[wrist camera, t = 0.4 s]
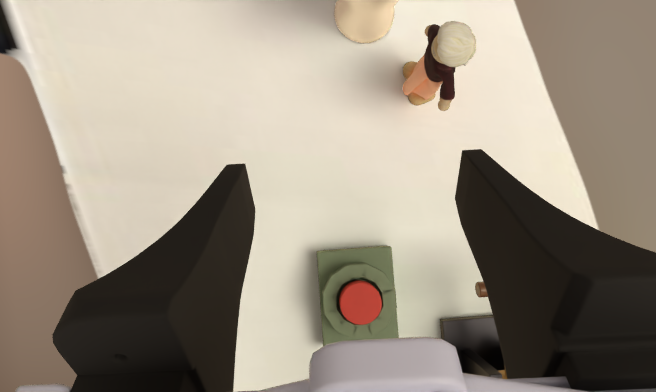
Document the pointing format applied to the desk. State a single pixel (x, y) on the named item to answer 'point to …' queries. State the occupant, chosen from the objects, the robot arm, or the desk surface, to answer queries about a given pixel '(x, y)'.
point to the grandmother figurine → (439, 63)
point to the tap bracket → (475, 344)
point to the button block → (354, 266)
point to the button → (360, 302)
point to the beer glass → (364, 18)
